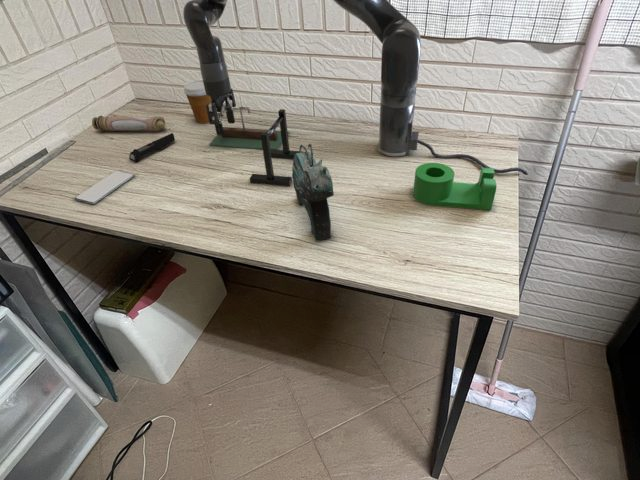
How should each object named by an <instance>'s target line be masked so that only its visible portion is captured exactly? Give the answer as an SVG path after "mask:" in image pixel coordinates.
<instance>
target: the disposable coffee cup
mask: <svg viewBox="0 0 640 480" xmlns="http://www.w3.org/2000/svg"><path fill="white" fill-rule="evenodd" d="M183 93H184V94H185V95H186V98H187V100H188V104H189V106H190V108H191V110H192V114H193V116H194V118H195V121H196V123H198V124H208V123H209V118H208V113H207V108H206V104H211V97H210V96H208V95H207V94H206V92H205V88H204V84H203V79H202V80H201V79H198V80H193V81H189V82H187V83H185V84H184V86H183ZM212 120H213V117H212ZM209 124H210V123H209Z"/></svg>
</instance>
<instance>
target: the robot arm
mask: <svg viewBox="0 0 640 480" xmlns="http://www.w3.org/2000/svg"><path fill="white" fill-rule="evenodd" d="M332 1H333V2H334V3H335V4H337V6H339V8H341V9H343V10H344V11H346V12H347V13H349V14H350V15H351V16H353V17H355V18H357V19H358V20H360V21H361V22H362V23H364V25H365V26H367V27H368V28H369V30H371V31H372V33H373V35H375V36H376V38H377V39H378V41H379V42H380V44H381V45H382V46H381V61H380V62H381V65H380V100H379V101H380V102H379V103H380V104H379V128H378V129H379V130H378V145H377V150H378V152H379V153H380V154H382V155H384V156H387V157H402V156H410V155H411V151H417V149H418V144H419V145H421V146H423V147H425V148H427V149H428V150H429V151H430V153H431V155H432V156H433V157H434V158H435V157H436V158H437V159H457V158H458V159H459V158H461V159H467V160H468V159H469V160H471V161H473V162H475V163H476V164H478V165H479V166H480V167H481V168H491V167H490V166H488V165H487V164H485V163H484V162H483V161H482V160H480V159H478V158H477V157H475V156H472V155H469V154H466V153H465V154H464V153H463V154H462V153H459V154H449V155H444V154H443V155H442V154H438V153H436V152H435V150H434V148H433V146H431V145H430V144H428V143H426V142H424V141H423V140H420V139H419V132H420V131H414V123H415V106H416V98H417V97H416V96H417V87H418V82H419V81H418V79H419V70H420V59H421V48H422V45H421V44H422V43H421V34H420V31H419V29H418V28H417V26H416V25H415V24H414V23H413V22H412V21H410V19H408V18H407V17H406V16H405V15H404V14H403V13H401V12H400V11H399V10H398V9H397V8H396V7H395V6H393V5H392V4H391V3H390V2H389V0H332ZM227 3H228V0H189V1H187V2H186V3H185V4H184V6H183V12H182V15H183V21H184V24H185V27H186V30H187V31H188V33H189V35H190V37H191V40H192V42H193V43H194V46H195V48H196V53H197V57H198V62H199V69H200V75H201V79H202V80H203V84H204V88H205V92H206V94H207V95H208V96H210V97H211V104H206V108H207V113H208V118H209V125H214V128H215V132H216V136H217V135H224V130H223V127H224V126H223V125H224V124H223V117H225V114H226V120H227V123H228V124H233V125H234V124H235V123H236V119H235V113H234V111H235V108H236V107H237V103H236V99H235V94H234V89H233V88H232V87H231V81H230V76H229V69H228V66H227V62H226V59H225V54H224V50H223V49H224V48H223V44H222V40H221V39H220V38H219V36H216V35H213V33H212V31H211V28H210V27H211V26H214V25H215V24H216V23H217V22H218V21H219V20H220V19H221V17H222V16H223V14H224V11H225V9H226V6H227ZM212 117H213V120H212ZM512 172H520V173H522V174H523V175H525V176H528V175H529V172H528V171H527V170H525V169H524V168H522V167H510V168H505V169H497V168H494V173H495V174H506V173H512Z"/></svg>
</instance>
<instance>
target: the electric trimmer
mask: <svg viewBox="0 0 640 480" xmlns="http://www.w3.org/2000/svg"><path fill="white" fill-rule="evenodd" d="M174 141H175V133H173V132H171V133H169V134H167V135H164V136H163V137H160V138H158V139H155V140H153V141H151V142H149V143H147V144H145V145H143V146H140V147H138V148H134V149H133V150H132V151H130V153H129V156H128V159H129V160H130V162H132V163H139V162H140V160H141V159H143V158H145V157H147V156H149V155H150V154H152V153H154V152H156V151H160V150H162V149H164V148H166V147H167V146H169V145H170V144H172V143H173V142H174Z"/></svg>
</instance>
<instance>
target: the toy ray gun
mask: <svg viewBox="0 0 640 480" xmlns="http://www.w3.org/2000/svg"><path fill="white" fill-rule="evenodd" d="M307 147H308V149H309V148H310V149H309V150H310V152H309V151H308V149H307V148H306V146H305V145H304V144H301V145H300V146H299V150H298V151H299V153H296V154H295V155H294V159H292V160H293V161H292V166H291V167H292V171H291V172H292V175H291V177H292V184H293V189H294V191H295V195H296V200H297V203H298V204H299V206H303V207H304V209H305V212H306V213H307V216H308V219H309V222H310V230H311V234H312V236H313V237H314V240H315V242H319V241H325V240H328V239H331V238H332V237H331V236H332V234H331V233H332V231H331V230H332V229H331V227H332V222H331V214H330V207H329V202H328V201H329V200H328V198H331V197H334V195H335V193H334V185H333V179H332V176H331V172H330V170H329V169H328V168H327V166H325V165H323V158H321V159H320V160H319V161H318V162H317V161H316V159H315V157H314V150H313V145H312V143H309V144H308V145H307ZM302 149H304V152H301V151H302Z"/></svg>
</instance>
